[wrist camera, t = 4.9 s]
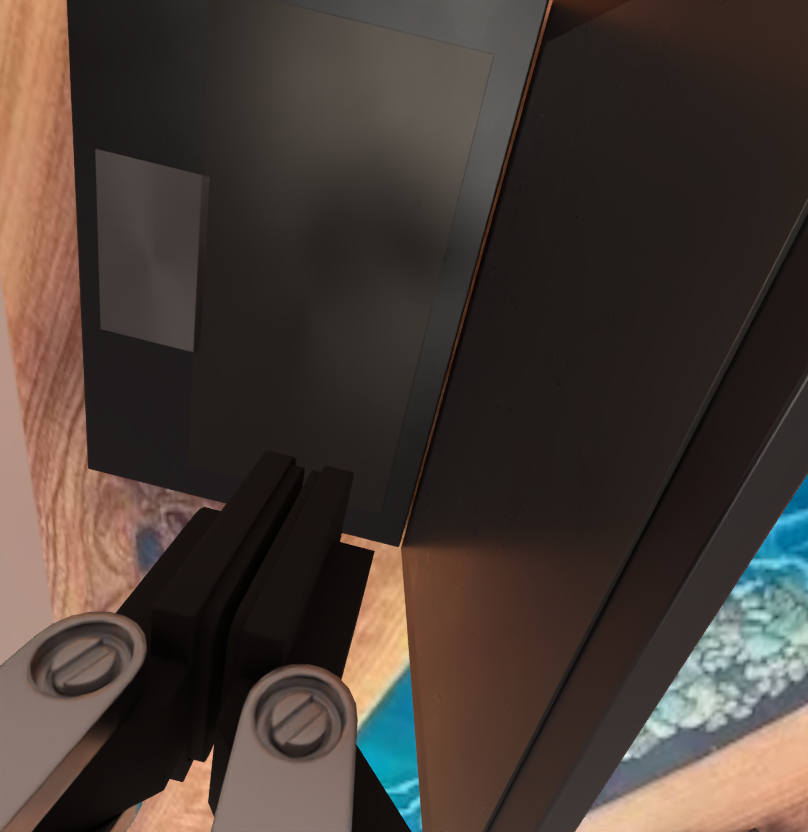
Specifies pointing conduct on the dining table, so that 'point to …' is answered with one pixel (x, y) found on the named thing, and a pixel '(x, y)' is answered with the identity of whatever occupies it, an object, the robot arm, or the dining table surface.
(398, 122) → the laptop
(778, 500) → the laptop screen
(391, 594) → the dining table surface
